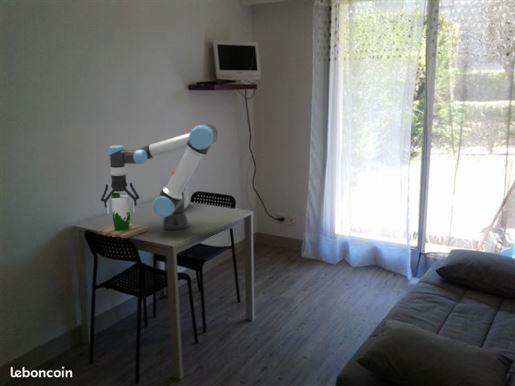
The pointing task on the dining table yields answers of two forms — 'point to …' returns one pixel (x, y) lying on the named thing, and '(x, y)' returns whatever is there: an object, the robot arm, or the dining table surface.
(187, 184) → the game box
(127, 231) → the wooden cutting board
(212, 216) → the dining table surface
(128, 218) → the soya milk
